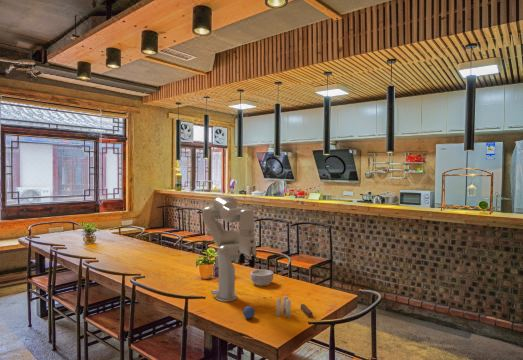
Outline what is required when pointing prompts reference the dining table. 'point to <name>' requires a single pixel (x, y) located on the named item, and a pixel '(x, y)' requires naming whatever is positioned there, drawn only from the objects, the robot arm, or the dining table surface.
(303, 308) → the wall
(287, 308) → the back right pin
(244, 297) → the dining table surface
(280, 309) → the front pin
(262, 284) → the paper bowls
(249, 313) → the ball
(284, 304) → the back left pin
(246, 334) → the dining table surface
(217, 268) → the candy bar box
